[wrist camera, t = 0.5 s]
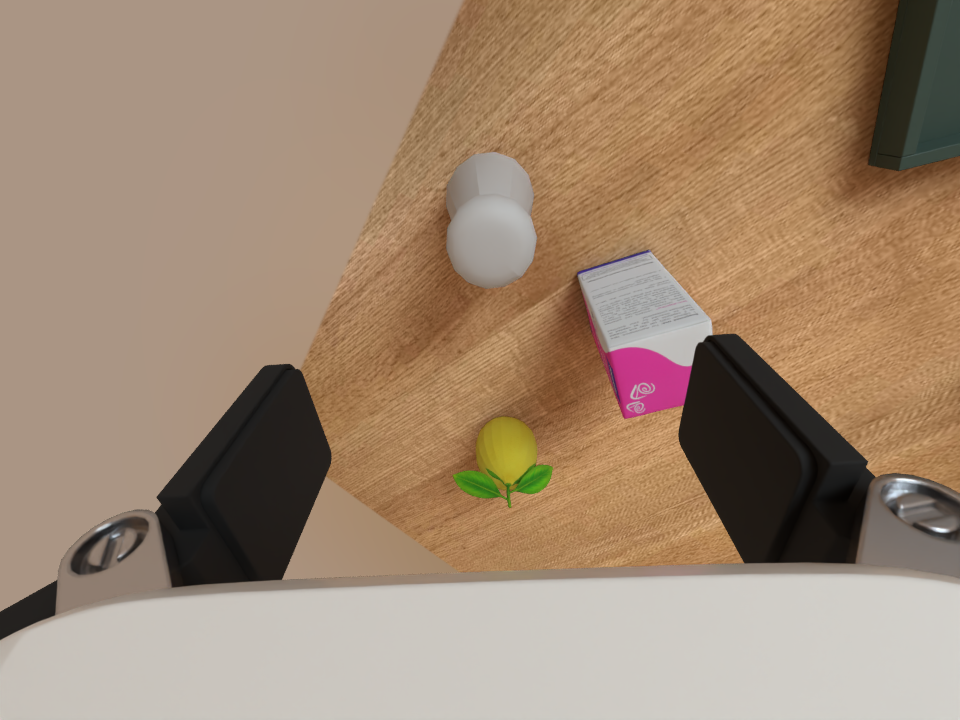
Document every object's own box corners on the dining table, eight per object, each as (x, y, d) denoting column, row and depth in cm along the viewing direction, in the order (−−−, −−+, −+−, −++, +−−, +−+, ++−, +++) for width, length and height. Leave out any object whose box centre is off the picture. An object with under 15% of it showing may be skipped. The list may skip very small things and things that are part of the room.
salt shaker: (455, 237, 32) (437, 314, 21) (442, 154, 29) (414, 192, 18) (533, 228, 32) (557, 302, 21) (528, 142, 29) (553, 175, 18)
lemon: (457, 422, 42) (449, 506, 33) (499, 386, 39) (502, 468, 31) (506, 457, 44) (510, 544, 36) (548, 425, 42) (564, 510, 33)
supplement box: (572, 272, 34) (607, 346, 24) (650, 247, 32) (719, 315, 23) (588, 334, 36) (624, 423, 27) (659, 313, 35) (724, 398, 26)
